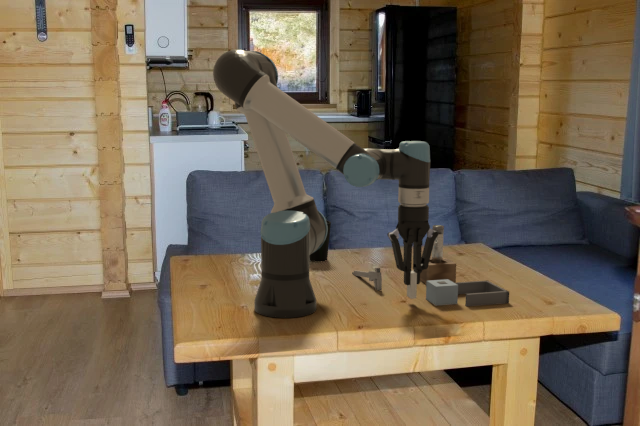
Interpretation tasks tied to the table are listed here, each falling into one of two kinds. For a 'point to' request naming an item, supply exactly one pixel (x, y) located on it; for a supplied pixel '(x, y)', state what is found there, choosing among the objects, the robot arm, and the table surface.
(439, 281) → the block
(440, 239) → the cylinder
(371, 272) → the caliper
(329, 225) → the cup
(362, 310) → the table surface
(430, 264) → the bore block
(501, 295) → the corral
